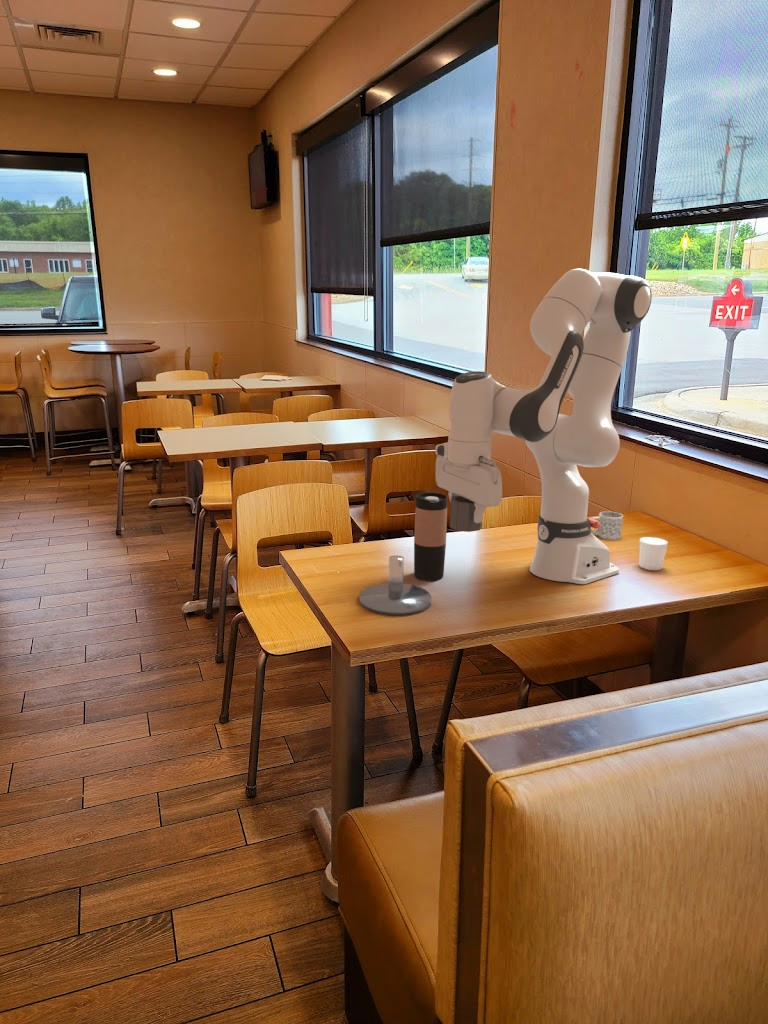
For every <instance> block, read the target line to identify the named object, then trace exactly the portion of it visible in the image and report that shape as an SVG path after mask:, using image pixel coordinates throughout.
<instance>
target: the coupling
mask: <svg viewBox="0 0 768 1024" xmlns="http://www.w3.org/2000/svg"><path fill="white" fill-rule="evenodd" d="M474 504H475V502H473V501H471V500H469V499H466V498H464V497H462V496H455V497H453V498H452V499H451V502H450V509H449V510H450V511H449V512H450V513H449V528H450V529H453V530H454V531H457V532H466V533H467V532H468V533H471V532H478V531H481V529H482V528H483V521H482V522H481V523H475V522H473V521H471V518H472V517H471V514H472V513H474V512H475V509H476V507H475V506H474ZM483 516H484V515H483ZM483 516H482V518H483Z"/></svg>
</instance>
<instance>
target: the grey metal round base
mask: <svg viewBox="0 0 768 1024" xmlns="http://www.w3.org/2000/svg"><path fill="white" fill-rule="evenodd" d="M404 561H405V559H404V556H402V555H397V554H396V555H395V554H394V555H390V556H389V558H388V583H387V582H386V583H378V584H373V585H371V586H368V587H366V588H364V589H362V590H361V591H360V593H359V600H358V601H359V604H360V606H361V607H362V608H363V609H365V610H366V611H367V610H368V611H369V612H372V613H375V614H380V615H386V616H409V615H410V616H411V615H415V614H419V613H422V612H424V611H426V610H428V609H429V608H430V607H431V605H432V595H431V593H430V592H429V591H428V590H426V589H424V588H422V587H420V586H416V585H413V584H409V583H408V584H407V583H404Z"/></svg>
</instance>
